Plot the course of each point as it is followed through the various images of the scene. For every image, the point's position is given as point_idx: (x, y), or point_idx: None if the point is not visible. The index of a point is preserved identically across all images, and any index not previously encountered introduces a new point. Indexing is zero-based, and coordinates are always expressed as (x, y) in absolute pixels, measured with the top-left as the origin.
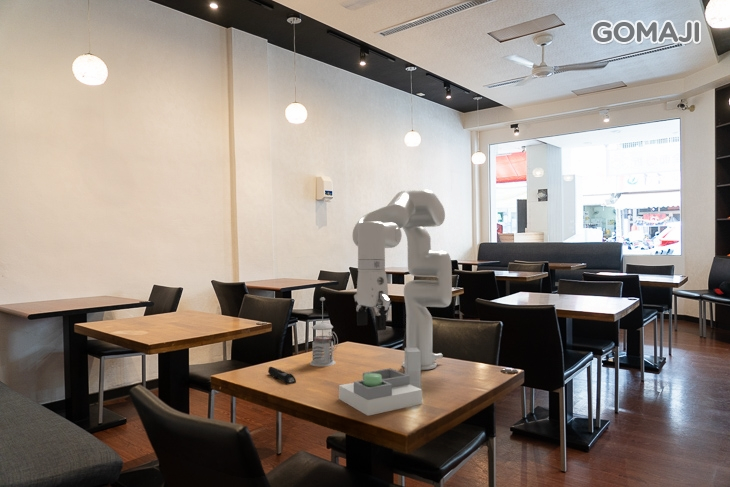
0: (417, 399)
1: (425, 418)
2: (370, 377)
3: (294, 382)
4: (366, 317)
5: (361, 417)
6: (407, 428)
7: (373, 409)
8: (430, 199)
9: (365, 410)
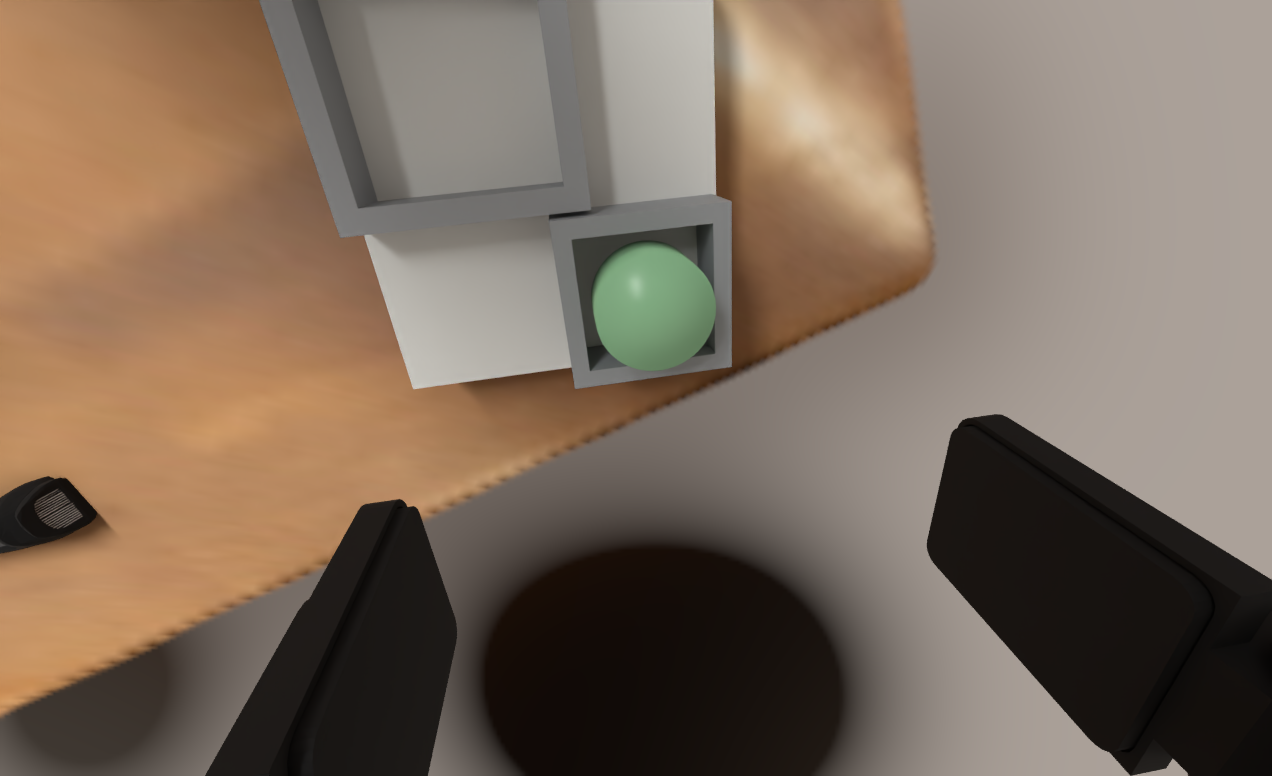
0: None
1: (869, 86)
2: (686, 342)
3: (66, 485)
4: (379, 630)
5: None
6: (902, 235)
7: None
8: None
9: None
